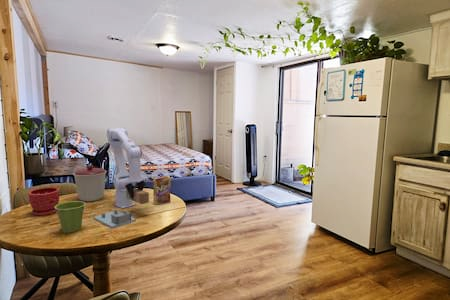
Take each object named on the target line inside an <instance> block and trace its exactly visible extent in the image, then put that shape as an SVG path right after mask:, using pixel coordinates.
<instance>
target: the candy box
mask: <svg viewBox="0 0 450 300" xmlns="http://www.w3.org/2000/svg"><path fill="white" fill-rule="evenodd" d="M152 178H153V181H152V182H153V187H152V188H153V189H152V190H153V204H154V205H156V206H157V205H164V204H170V203H171V176H169V175H166V176H164V175H163V176H155V177H152Z"/></svg>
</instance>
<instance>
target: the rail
mask: <svg viewBox="0 0 450 300" xmlns="http://www.w3.org/2000/svg"><path fill="white" fill-rule="evenodd" d="M126 193H127V199H130V200H132V202H135V203H138V204H140V205H144V204H149V203H150V197H149V196H150V193H149V192H147V191H145V190H143V191H142V190H139V189H137V187H134V192H133V193H134V197H133V198H130V195H129V192H128V190H127V189H126Z"/></svg>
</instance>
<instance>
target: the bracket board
mask: <svg viewBox="0 0 450 300" xmlns="http://www.w3.org/2000/svg"><path fill="white" fill-rule="evenodd" d="M92 219H93V220H94V221H96V222H99V223H101V224H103V225H105V226H106V227H108V228H110V229H115V228H118V227H121V226H124V225H128V224H131V223H133V222H136V221H137V218H134V217H133V216H132V213H131V212H130V211H127V210H123V212H121V211H119V210H118V209H113V211H109V212H106V213H104V212H102V213H101V214H98V215H95V216H93V218H92Z"/></svg>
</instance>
